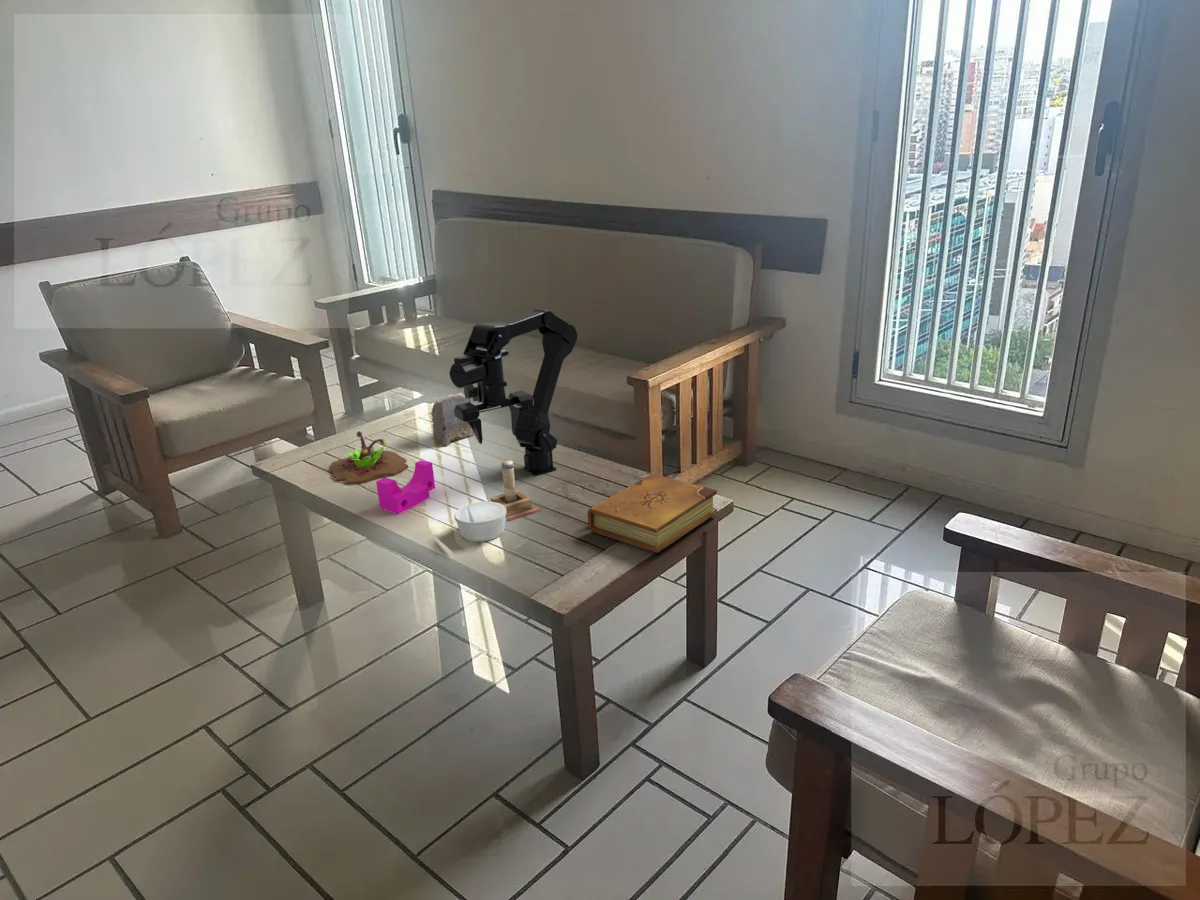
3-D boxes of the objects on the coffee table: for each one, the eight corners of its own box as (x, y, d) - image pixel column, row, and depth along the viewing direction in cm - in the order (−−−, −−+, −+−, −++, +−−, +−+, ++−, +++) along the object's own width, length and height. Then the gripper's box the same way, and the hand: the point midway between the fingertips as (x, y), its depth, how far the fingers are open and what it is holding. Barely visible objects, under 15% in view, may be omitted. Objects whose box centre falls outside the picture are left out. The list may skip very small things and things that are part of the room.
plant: (393, 453, 238) (387, 416, 234) (417, 475, 222) (411, 435, 218) (321, 470, 228) (314, 431, 224) (340, 493, 212) (333, 452, 208)
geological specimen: (463, 436, 247) (458, 387, 242) (477, 440, 243) (471, 390, 238) (434, 447, 240) (427, 396, 234) (447, 451, 236) (441, 400, 230)
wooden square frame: (521, 498, 203) (520, 488, 202) (540, 511, 196) (539, 501, 195) (491, 507, 199) (490, 497, 198) (509, 520, 192) (508, 510, 191)
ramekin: (446, 535, 187) (443, 513, 185) (485, 517, 194) (482, 496, 192) (479, 549, 179) (477, 527, 178) (518, 530, 187) (516, 509, 185)
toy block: (399, 515, 198) (394, 486, 195) (380, 510, 201) (375, 481, 199) (443, 492, 210) (439, 464, 207) (424, 487, 213) (421, 460, 210)
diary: (650, 495, 203) (649, 472, 201) (716, 513, 191) (716, 490, 189) (588, 530, 186) (587, 506, 184) (657, 553, 175) (656, 527, 173)
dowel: (514, 504, 200) (509, 459, 196) (519, 508, 198) (515, 463, 194) (504, 507, 198) (499, 462, 194) (509, 511, 196) (504, 465, 192)
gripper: (510, 363, 211) (516, 422, 216) (441, 377, 202) (448, 439, 207) (532, 372, 202) (537, 433, 208) (460, 387, 193) (467, 451, 198)
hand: (497, 439), depth 205 cm, fingers open, 9 cm apart
